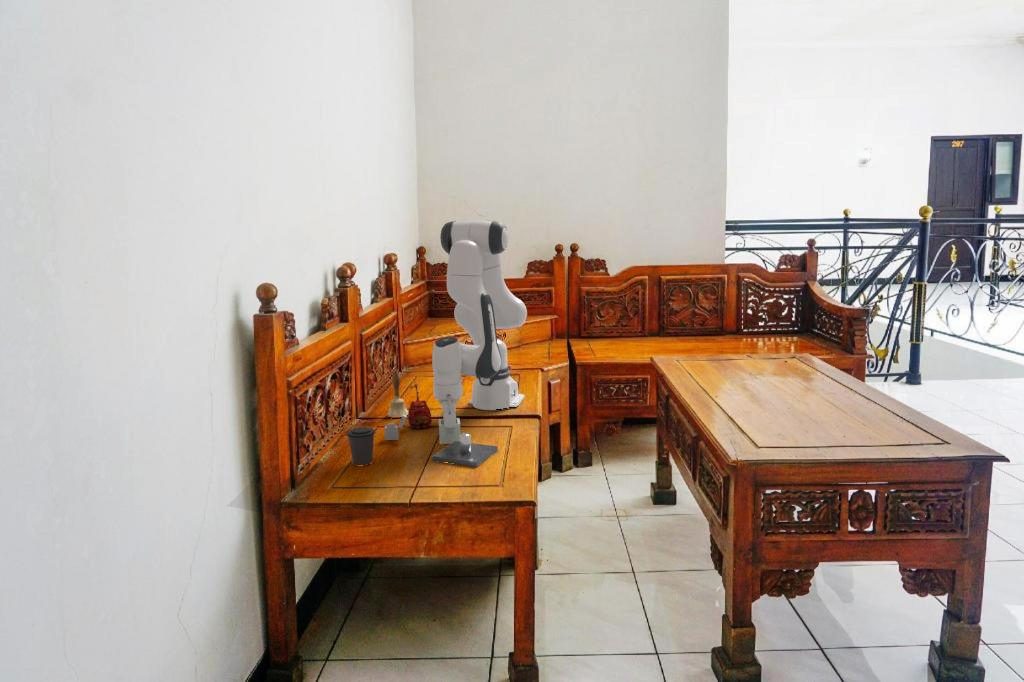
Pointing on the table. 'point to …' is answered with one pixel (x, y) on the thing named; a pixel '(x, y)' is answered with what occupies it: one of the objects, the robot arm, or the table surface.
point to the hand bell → (397, 399)
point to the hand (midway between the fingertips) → (449, 434)
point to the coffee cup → (361, 445)
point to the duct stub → (465, 452)
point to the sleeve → (444, 432)
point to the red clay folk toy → (419, 413)
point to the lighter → (394, 429)
